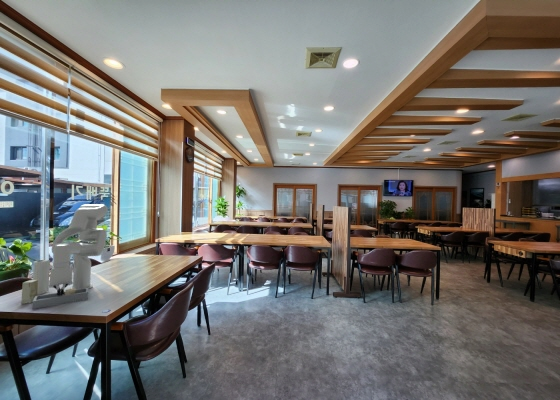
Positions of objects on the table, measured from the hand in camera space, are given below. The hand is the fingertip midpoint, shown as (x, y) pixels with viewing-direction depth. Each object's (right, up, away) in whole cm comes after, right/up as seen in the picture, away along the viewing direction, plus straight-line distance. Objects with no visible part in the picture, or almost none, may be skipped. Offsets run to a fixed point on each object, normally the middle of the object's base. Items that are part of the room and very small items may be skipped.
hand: (60, 295), depth 144 cm
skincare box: (-18, -4, -1) cm, 18 cm away
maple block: (+4, -1, +3) cm, 5 cm away
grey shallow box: (+1, -4, +1) cm, 4 cm away
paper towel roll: (-25, -4, +13) cm, 29 cm away
